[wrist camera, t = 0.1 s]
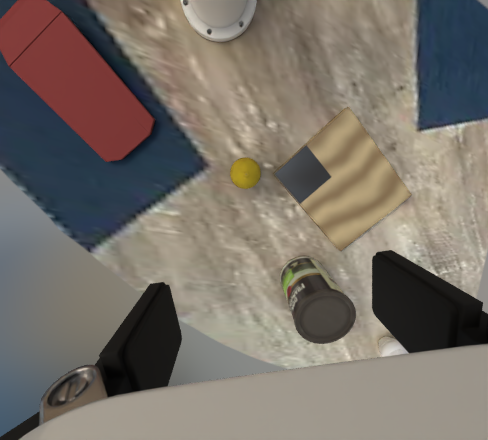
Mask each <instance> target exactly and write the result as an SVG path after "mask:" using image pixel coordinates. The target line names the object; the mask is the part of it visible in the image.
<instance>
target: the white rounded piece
mask: <svg viewBox="0 0 488 440" xmlns="http://www.w3.org/2000/svg"><path fill="white" fill-rule="evenodd" d="M378 344H379V352H380V355H381V357H385V356H392V355H400V354H408V352H407V351H406V349H405V348H404V347H403V346H402V345H401V344H400V343H399V342H398V340H395V339H393V338H390V337H387V336H386V337H382V338H381V339H380V340H379V343H378Z"/></svg>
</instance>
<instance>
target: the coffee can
mask: <svg viewBox="0 0 488 440" xmlns="http://www.w3.org/2000/svg"><path fill="white" fill-rule="evenodd" d="M280 283H281V286H282V288H283V290H284V293H285V296H286V299H287V302H288V304H289V307H290V310H291V313H292V316H293V319H294V323H295V326H296V329H297V331H298V333H299V334H300V335H301V336H302V337H303V338H304V339H306V340H308V341H310V342H313V343H318V344H326V343H331V342H334V341H337V340H339V339H341V338H342V337H344V336H345V335H346V334H347V333H348V332H349V331H350V330H351V328H352V327H353V325H354V322H355V318H356V311H355V307H354V305H353V303H352V301H351V300H350V299H349V298H348V297H347V296H346V295H345V294H344V293H343V292H342V290H341V289H340V288H339V286H338V285H337V284H336V283H335V282H334V280H333V279H332V278H331V277H330V275H329V274H328V273H327V272H326V270H325V269H324V268H323V266H322V265H321V264H320V262H319V261H317V260H316V259H314V258H311V257H306V256H301V257H297V258H294V259H292V260H290V261H289V262H288V263H286V265H285V266H284V267H283V269H282V271H281V274H280Z"/></svg>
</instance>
